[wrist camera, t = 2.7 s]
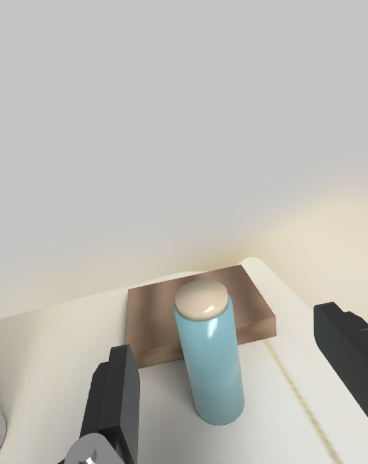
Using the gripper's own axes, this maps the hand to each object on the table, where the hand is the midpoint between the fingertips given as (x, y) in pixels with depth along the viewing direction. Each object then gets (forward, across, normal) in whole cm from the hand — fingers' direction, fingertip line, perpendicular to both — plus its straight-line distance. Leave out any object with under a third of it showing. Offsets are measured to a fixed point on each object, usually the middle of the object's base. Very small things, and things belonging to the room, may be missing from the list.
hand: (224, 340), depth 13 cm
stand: (+24, +1, +18) cm, 30 cm away
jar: (+11, 0, +18) cm, 22 cm away
